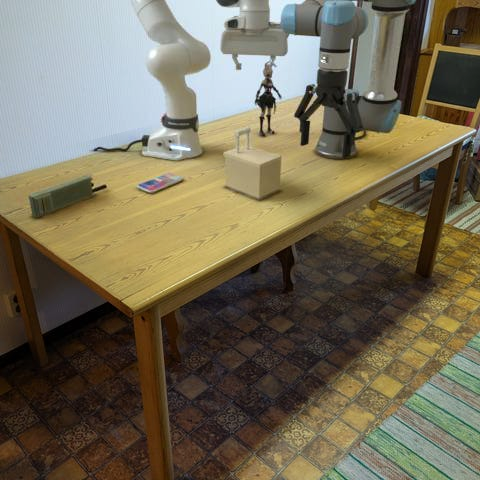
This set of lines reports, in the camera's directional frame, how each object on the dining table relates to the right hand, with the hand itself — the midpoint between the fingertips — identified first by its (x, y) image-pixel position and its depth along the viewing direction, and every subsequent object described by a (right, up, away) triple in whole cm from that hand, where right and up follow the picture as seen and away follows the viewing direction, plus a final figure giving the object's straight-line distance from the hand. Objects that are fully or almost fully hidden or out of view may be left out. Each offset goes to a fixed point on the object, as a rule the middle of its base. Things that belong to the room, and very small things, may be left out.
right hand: (324, 150), depth 137 cm
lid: (-19, +1, +20) cm, 28 cm away
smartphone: (-49, -6, +28) cm, 56 cm away
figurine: (-12, +20, +75) cm, 79 cm away
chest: (-19, -8, +25) cm, 32 cm away
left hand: (-19, +28, +19) cm, 38 cm away
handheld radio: (-73, -13, +14) cm, 76 cm away
